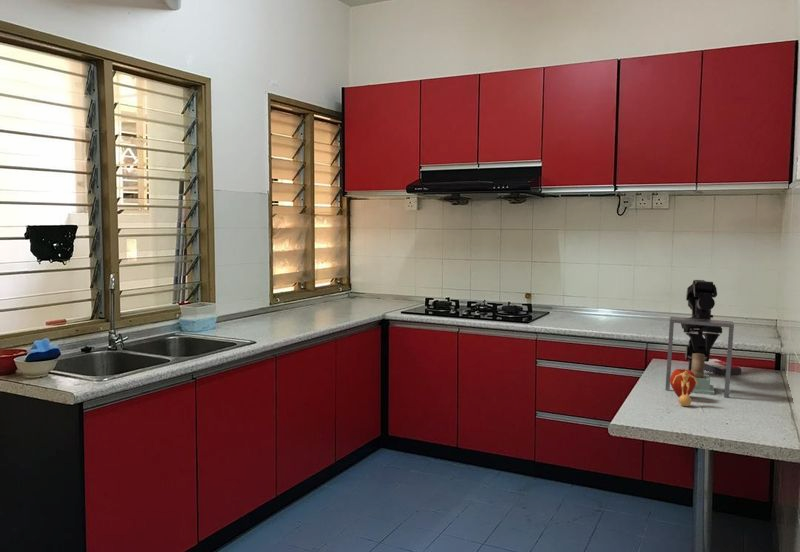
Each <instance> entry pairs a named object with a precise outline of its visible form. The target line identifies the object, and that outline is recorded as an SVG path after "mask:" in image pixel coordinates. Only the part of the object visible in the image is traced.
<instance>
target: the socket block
mask: <svg viewBox="0 0 800 552" xmlns="http://www.w3.org/2000/svg"><path fill="white" fill-rule="evenodd" d="M710 378H711V377H710V375H709V374H705V375H704V376H703V379H702V378H696V380H697V382H698V386H697V383H696V384H695V387H694V389H693V391H692V392H691V393H695V392H697V394H703V393H704V394H706V395H714V396H715V389H714V384H711V379H710ZM704 394H703V395H704Z"/></svg>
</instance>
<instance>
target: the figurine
mask: <svg viewBox="0 0 800 552" xmlns="http://www.w3.org/2000/svg"><path fill="white" fill-rule="evenodd" d="M678 376H682V377H683V381H681V386H682V395H681V396H680V397H678V403H679V404H680V405H681V406H683V407H687V406H690V405H691V404H692V398H691V397H690V395H689V396H688V390H689V387H690V386H689V383H690V382H689V381H688V378H689V377H692V378H694V379H695V381H696V383H697V386H698V382H697V380H696V378H695V377H694V376H692V375H690V374H688V372H687V371H685V372H683V373H681V374H679V375H676V376H675V378H674V380H673V383H672V384H674V381H675V379H676V377H678ZM687 381H688V382H687ZM685 384H686V386H687V388H688V389H687V392H686V395H684V391H683V390H684V388H683V387H684V386H685Z"/></svg>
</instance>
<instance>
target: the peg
mask: <svg viewBox="0 0 800 552" xmlns="http://www.w3.org/2000/svg"><path fill="white" fill-rule="evenodd" d="M704 362H705V355H704V354H700V353H693V354H692V366H691V371H692V372H693V373H694V375H695V378H702V379H703V376H704V374H705V373H704V372H705V370H704Z"/></svg>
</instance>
